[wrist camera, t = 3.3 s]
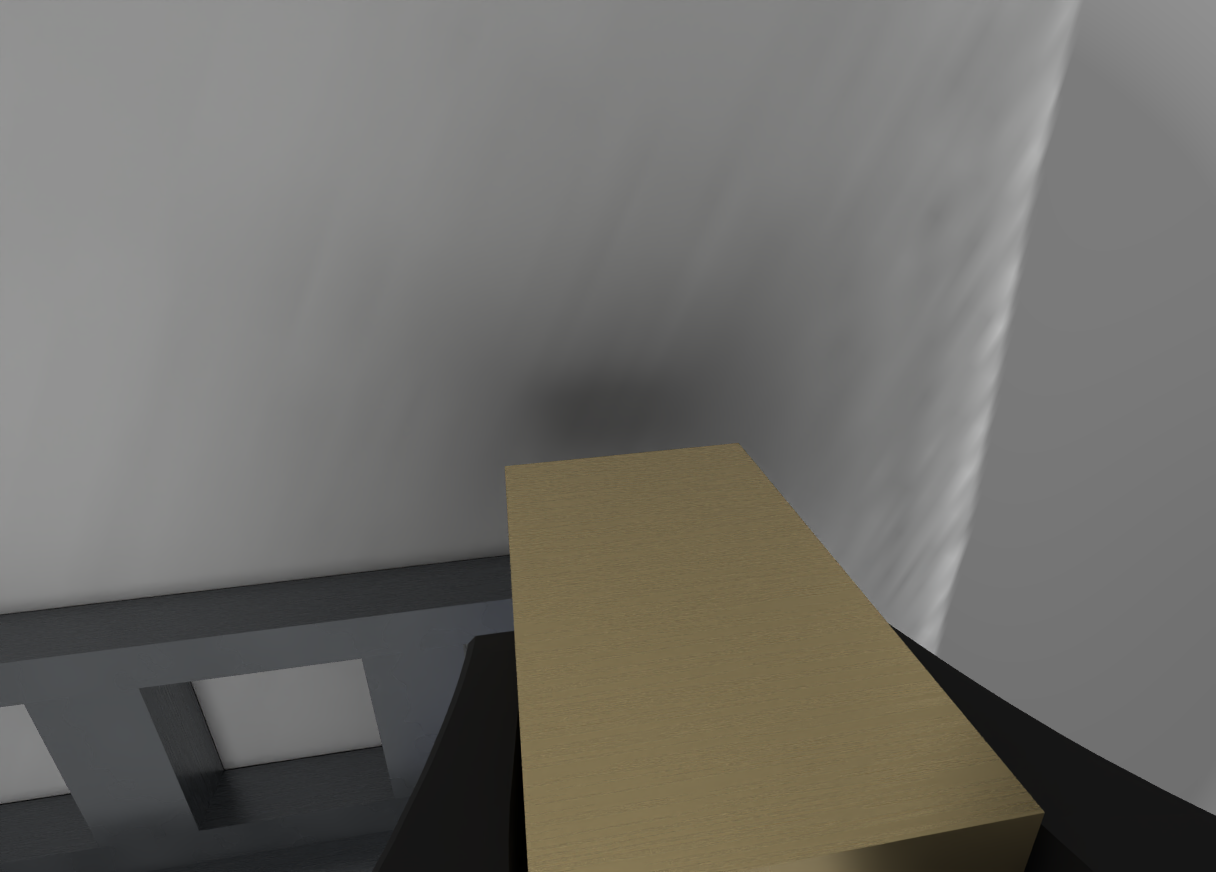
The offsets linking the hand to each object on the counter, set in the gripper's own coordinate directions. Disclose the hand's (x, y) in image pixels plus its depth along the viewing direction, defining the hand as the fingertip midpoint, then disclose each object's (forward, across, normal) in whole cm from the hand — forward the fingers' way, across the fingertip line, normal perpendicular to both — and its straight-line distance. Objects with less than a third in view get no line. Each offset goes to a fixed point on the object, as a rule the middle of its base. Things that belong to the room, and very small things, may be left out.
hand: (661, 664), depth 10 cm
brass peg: (+3, 0, 0) cm, 3 cm away
